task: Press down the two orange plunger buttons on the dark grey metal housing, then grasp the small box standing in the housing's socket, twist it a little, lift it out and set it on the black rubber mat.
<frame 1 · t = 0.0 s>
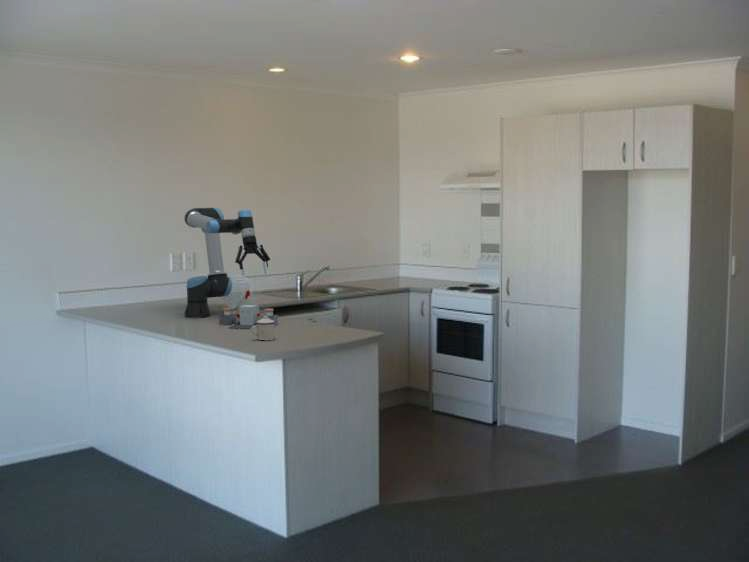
hand: (255, 274, 447), 28 cm above the worktop, tool tilted 20°, fingers open, 13 cm apart
small box: (248, 324, 450), resting in housing
plunger b: (269, 314, 447), point 6 cm above the worktop, slide at 0.0 cm
housing: (248, 324, 450), on the worktop
teacup with lid: (263, 340, 402), on the worktop
heart: (232, 309, 511), on the worktop
plunger a: (227, 313, 451), point 6 cm above the worktop, slide at 0.0 cm
kitchen timer: (247, 316, 482), on the worktop
mat: (241, 327, 439), on the worktop
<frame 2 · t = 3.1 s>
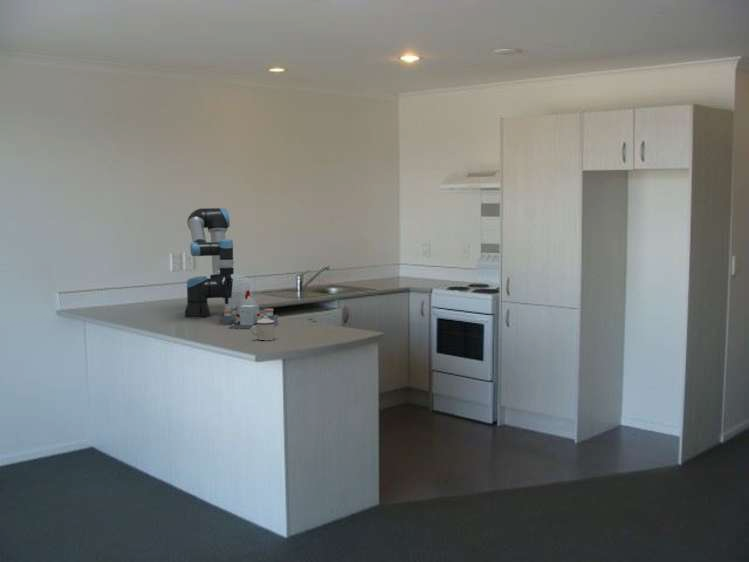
hand: (227, 309, 451), 8 cm above the worktop, tool pointing down, fingers closed
plunger a: (227, 315, 451), point 5 cm above the worktop, slide at 1.0 cm, touching gripper
everything else where it was.
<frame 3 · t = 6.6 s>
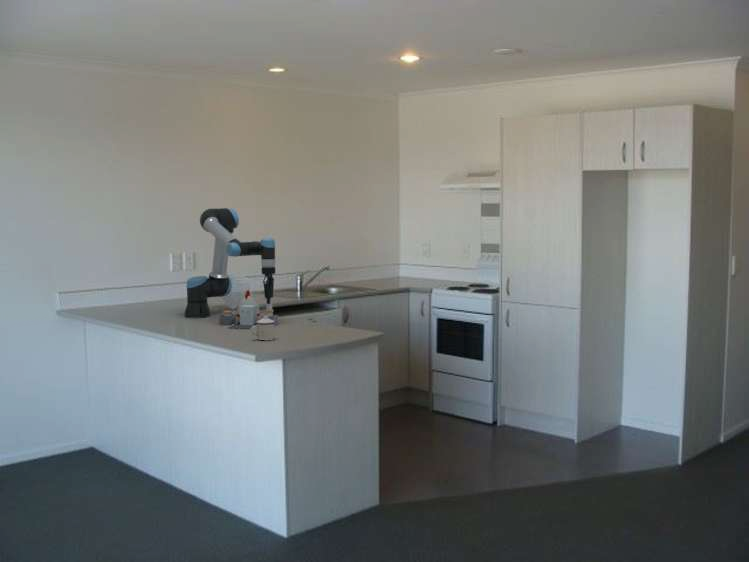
hand: (269, 309, 447), 9 cm above the worktop, tool pointing down, fingers closed
plunger b: (269, 315, 447), point 5 cm above the worktop, slide at 0.5 cm, touching gripper
plunger a: (227, 316, 451), point 4 cm above the worktop, slide at 1.6 cm
everything else where it was.
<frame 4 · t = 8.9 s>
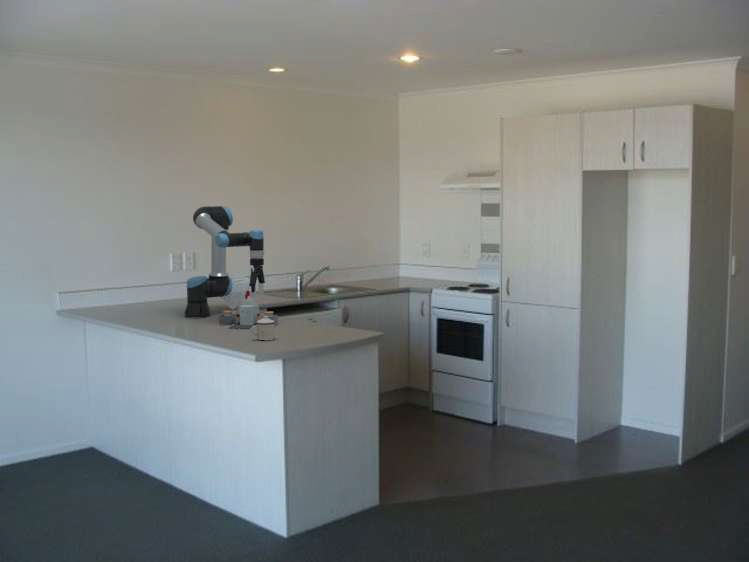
hand: (257, 296, 448), 16 cm above the worktop, tool pointing down, fingers open, 13 cm apart
plunger b: (269, 317, 447), point 4 cm above the worktop, slide at 1.6 cm
everything else where it was.
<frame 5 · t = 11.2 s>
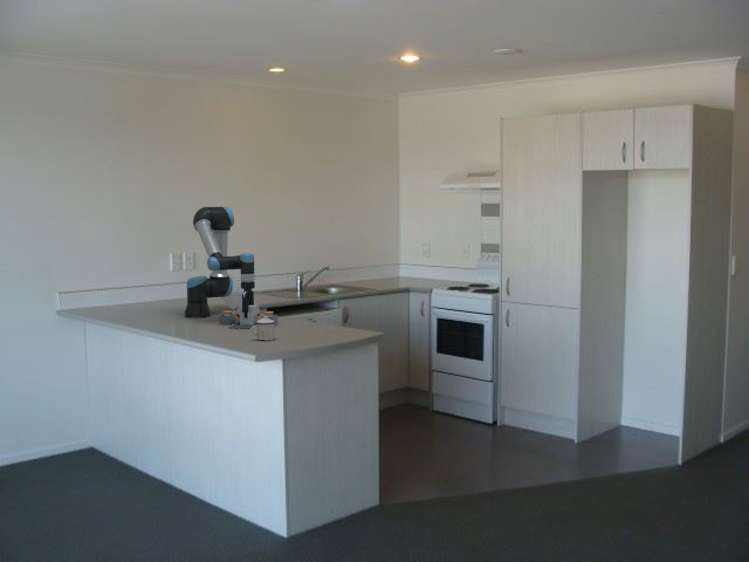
hand: (248, 322, 450), 1 cm above the worktop, tool pointing down, fingers closed on small box, 6 cm apart
small box: (248, 324, 450), resting in housing, touching gripper
everything else where it was.
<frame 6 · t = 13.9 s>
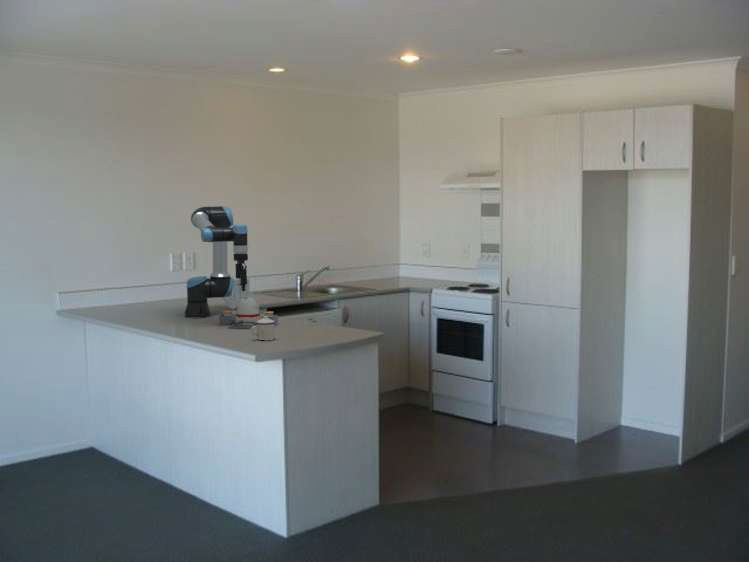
hand: (241, 296, 437), 17 cm above the worktop, tool pointing down, fingers closed on small box, 6 cm apart
small box: (241, 298, 438), point 16 cm above the worktop, touching gripper
everything else where it was.
when the fingers open (3 cm above the worktop, at t = 16.9 s): small box drops 1 cm, resting on mat.
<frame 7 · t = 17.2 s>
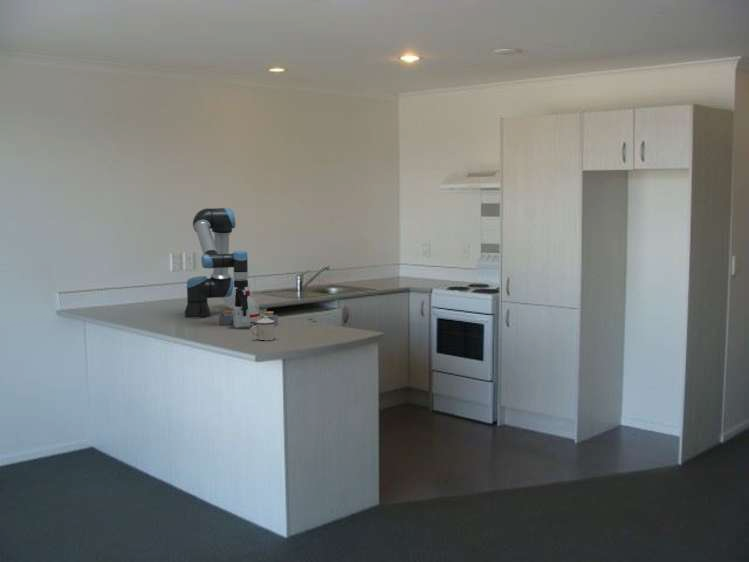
hand: (241, 320, 439), 4 cm above the worktop, tool pointing down, fingers open, 10 cm apart
small box: (241, 326, 439), resting on mat
everything else where it was.
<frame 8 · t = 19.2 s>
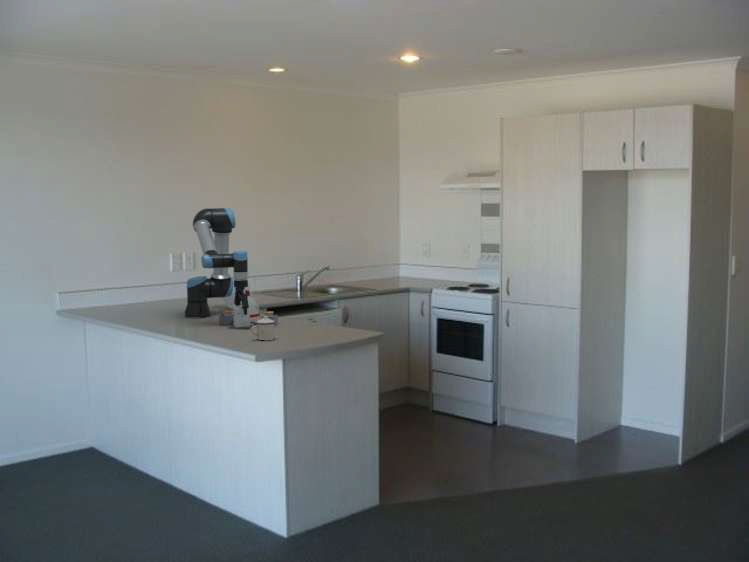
hand: (241, 319, 438), 5 cm above the worktop, tool pointing down, fingers open, 13 cm apart
nothing on the worktop moved.
at the end: plunger a slide at 1.6 cm; plunger b slide at 1.6 cm; small box 0.4 cm from the mat (horizontally) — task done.
